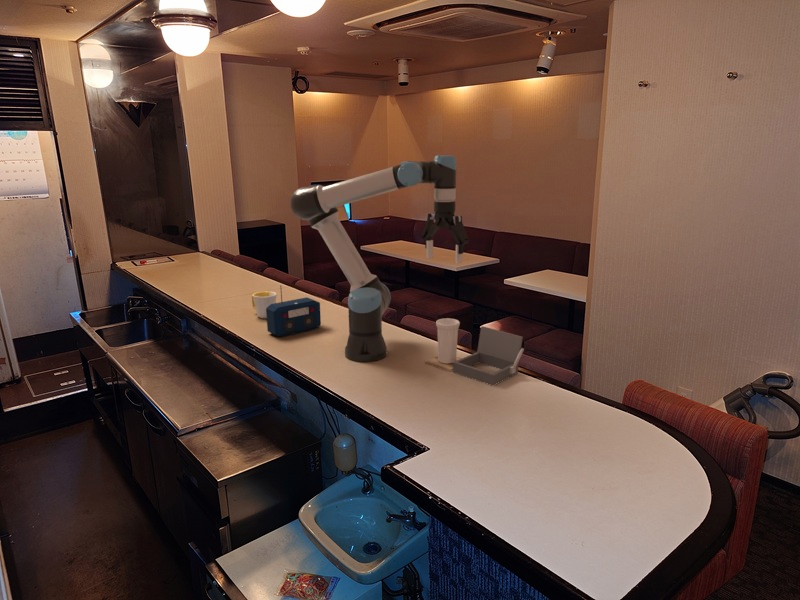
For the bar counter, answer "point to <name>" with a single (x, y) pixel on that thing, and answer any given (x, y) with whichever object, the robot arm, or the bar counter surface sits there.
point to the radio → (293, 316)
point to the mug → (263, 302)
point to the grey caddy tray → (492, 356)
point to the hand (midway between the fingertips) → (443, 260)
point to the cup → (447, 339)
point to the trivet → (441, 364)
